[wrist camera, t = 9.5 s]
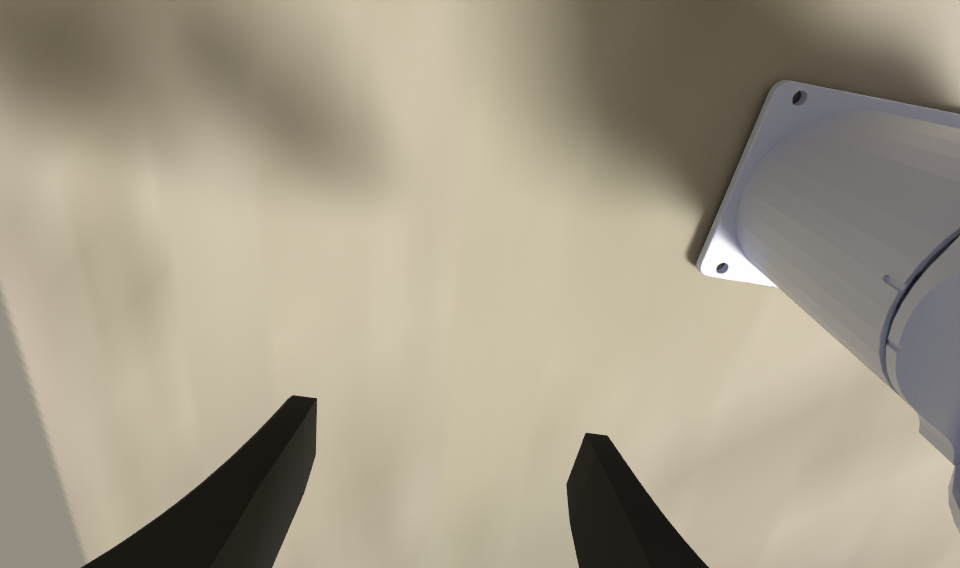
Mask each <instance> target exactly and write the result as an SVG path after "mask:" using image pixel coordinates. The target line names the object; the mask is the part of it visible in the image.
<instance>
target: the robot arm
mask: <svg viewBox="0 0 960 568" xmlns="http://www.w3.org/2000/svg"><path fill="white" fill-rule="evenodd" d="M798 91H800V92H801V97H800V99H799V101H798V102H796V103H795V104H793V102H792V99H793V96H794V95H795V93H797V92H798ZM721 263H724V266H723V267H722V268H721V269H719V270H716V267H717V266H718V265H719V264H721ZM696 266H697V269H698V271H699V272H700V273H701V274H702V275H704V276H708V277H714V278H720V279H727V280H733V281H739V282H745V283H752V284H758V285H764V286H770V287H777V288H779V289H780V290H782V291H783V292H784V293H785V294H786V295H787V296H788V297H789V298H791V299H792V300H793V301H794V302H795V303H796V304H797V305H798V306H799V307H801V308H802V309H803V310H804V311H805V312H806V313H807V314H808V315H810V316H811V317H812V318H813V319H814V320H815V321H816V322H817V323H819V324H820V325H821V326H822V327H823V328H824V329H825V330H826V331H827V332H829V333H830V334H831V335H832V336H833V337H834V338H835V339H836V340H838V341H839V342H840V343H841V344H842V345H843V346H844V347H845V348H847V349H848V350H849V351H850V352H851V353H852V354H853V355H854V356H855V357H857V358H858V359H859V360H860V361H861V362H862V363H863V364H864V365H866V366H867V367H868V368H869V369H870V370H871V371H872V372H873V373H875V374H876V375H877V376H878V377H879V378H880V379H881V380H882V381H883V382H885V383H886V384H887V385H888V386H889V387H890V388H891V389H892V390H894V391H895V392H896V393H897V394H898V395H899V396H900V397H901V398H902V399H903V400H904V401H906V402H907V403H908V404H909V405H910V406H911V407H912V408H913V409H914V410H915V411H916V412H917V414H918V416H919V420H920V426H919V433H920V434H921V435H923V436H924V437H925V438H926V439H927V440H928V441H929V442H930V443H931V444H932V445H933V446H934V447H935V448H936V449H937V450H939V451H940V452H941V453H942V454H943V455H944V456H945V457H946V458H947V459H948V460H949V461H950V462H951V463H952V464H953V465H955V468H954V471H953V474H952V477H951V481H950V484H949V487H948V490H949V506H950V509H951V513H952V516H953V519H954V523H955V524H956V526H957V528H958V530H959V532H960V114H958V113H953V112H947V111H942V110H937V109H932V108H927V107H922V106H917V105H912V104H907V103H902V102H897V101H892V100H887V99H882V98H877V97H872V96H867V95H861V94H856V93H851V92H846V91H841V90H836V89H831V88H826V87H821V86H816V85H811V84H806V83H801V82H796V81H791V80H782V81H779V82H777V83H776V84H775V85H774V86H772V88H771V90H770V91H769V93H768V95H767V98H766V100H765V103H764V105H763V107H762V110H761V112H760V114H759V117H758V119H757V121H756V124H755V126H754V128H753V131H752V133H751V135H750V138H749V140H748V143H747V145H746V147H745V150H744V152H743V154H742V157H741V159H740V161H739V164H738V166H737V168H736V171H735V173H734V175H733V178H732V180H731V183H730V185H729V187H728V190H727V192H726V194H725V197H724V199H723V201H722V204H721V206H720V208H719V211H718V213H717V215H716V218H715V220H714V223H713V225H712V227H711V230H710V232H709V234H708V237H707V239H706V241H705V244H704V246H703V248H702V251H701V253H700V255H699V258H698V260H697V264H696ZM316 417H317V398H310V397H302V396H294V395H293V396H291V397H290V398H288V400H287V401H286V402H285V403H284V404H283V405H282V406H281V407H280V408H279V409H278V411H277V412H276V413H275V414H274V415H273V416H272V417H271V418H270V419H269V420H268V421H267V422H266V423H265V424H264V425H263V426H262V427H261V428H260V429H259V430H258V431H257V433H256V434H255V435H253V436H252V437H251V438H250V439H249V440H248V441H247V442H246V443H245V444H244V445H243V446H242V447H241V448H240V449H239V450H238V451H237V452H236V453H235V454H234V455H233V456H232V457H231V458H229V459H228V460H227V461H226V462H225V463H224V464H223V465H222V466H220V467H219V468H218V469H217V470H216V471H215V472H214V473H212V474H211V475H210V476H209V477H208V478H207V479H206V480H204V481H203V482H202V483H201V484H200V485H198V486H197V487H196V488H195V489H194V490H192V491H191V492H190V493H189V494H187V495H186V496H185V497H184V498H182V499H181V500H180V501H179V502H177V503H176V504H175V505H173V506H172V507H171V508H169V509H168V510H167V511H165V512H164V513H163V514H161V515H160V516H159V517H157V518H156V519H154V520H153V521H152V522H150V523H149V524H147V525H146V526H144V527H143V528H142V529H140V530H139V531H137V532H136V533H134V534H133V535H132V536H130V537H129V538H127V539H126V540H124V541H123V542H121V543H120V544H118V545H117V546H115V547H114V548H112V549H111V550H109V551H107V552H106V553H104V554H102V555H101V556H99V557H98V558H96V559H94V560H93V561H91V562H89V563H88V564H86V565H85V566H83V567H81V568H272V566H273V564H274V562H275V559H276V557H277V555H278V552H279V550H280V548H281V545H282V543H283V541H284V539H285V536H286V534H287V532H288V529H289V527H290V525H291V522H292V520H293V518H294V515H295V513H296V511H297V508H298V506H299V504H300V501H301V499H302V496H303V494H304V491H305V488H306V485H307V482H308V479H309V475H310V472H311V469H312V465H313V462H314V459H315V455H316ZM567 497H568V509H569V518H570V525H571V531H572V536H573V540H574V545H575V550H576V555H577V560H578V564H579V568H709V567H708V566H707V565H706V564H705V563H704V562H703V561H702V560H701V559H700V558H699V556H698V555H697V554H696V553H695V552H694V551H693V550H692V549H691V547H690V546H689V545H688V544H687V543H686V542H685V540H684V539H683V538H682V537H681V536H680V534H679V533H678V532H677V531H676V529H675V528H674V527H673V526H672V525H671V523H670V522H669V521H668V520H667V518H666V517H665V516H664V514H663V513H662V512H661V511H660V509H659V508H658V507H657V505H656V504H655V502H654V501H653V500H652V498H651V497H650V496H649V494H648V493H647V492H646V490H645V489H644V487H643V486H642V485H641V483H640V482H639V480H638V479H637V478H636V476H635V475H634V473H633V472H632V470H631V469H630V468H629V466H628V465H627V463H626V462H625V460H624V459H623V457H622V456H621V454H620V453H619V452H618V450H617V449H616V447H615V446H614V444H613V443H612V441H611V440H610V439H609V437H608V436H606V435H598V434H590V433H586V434H585V436H584V439H583V442H582V444H581V447H580V450H579V452H578V455H577V458H576V460H575V463H574V466H573V468H572V471H571V474H570V476H569V479H568V482H567Z"/></svg>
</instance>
